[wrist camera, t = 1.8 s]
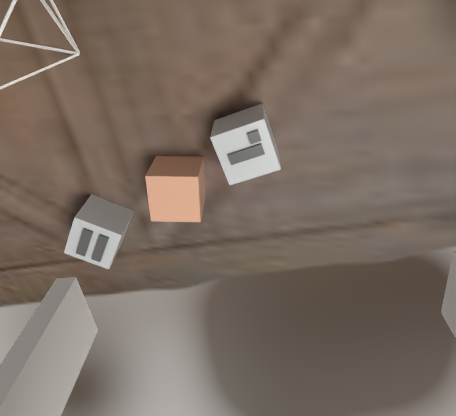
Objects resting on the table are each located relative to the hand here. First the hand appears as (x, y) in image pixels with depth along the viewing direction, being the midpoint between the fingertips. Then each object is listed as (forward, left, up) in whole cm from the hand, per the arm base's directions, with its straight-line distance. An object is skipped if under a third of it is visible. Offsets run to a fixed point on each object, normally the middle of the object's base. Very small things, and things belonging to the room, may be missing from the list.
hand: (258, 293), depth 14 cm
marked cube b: (0, -4, -27) cm, 27 cm away
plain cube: (-6, -10, -27) cm, 29 cm away
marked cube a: (-14, -17, -27) cm, 35 cm away
